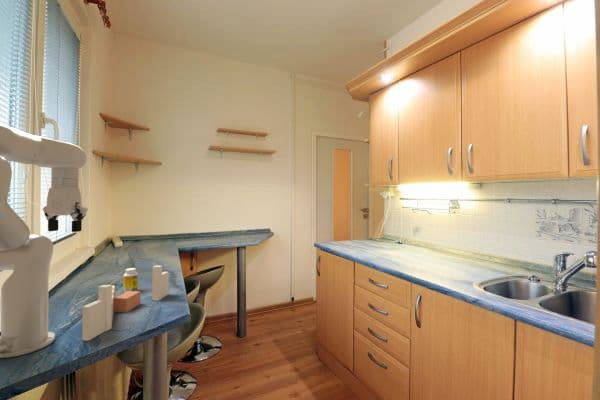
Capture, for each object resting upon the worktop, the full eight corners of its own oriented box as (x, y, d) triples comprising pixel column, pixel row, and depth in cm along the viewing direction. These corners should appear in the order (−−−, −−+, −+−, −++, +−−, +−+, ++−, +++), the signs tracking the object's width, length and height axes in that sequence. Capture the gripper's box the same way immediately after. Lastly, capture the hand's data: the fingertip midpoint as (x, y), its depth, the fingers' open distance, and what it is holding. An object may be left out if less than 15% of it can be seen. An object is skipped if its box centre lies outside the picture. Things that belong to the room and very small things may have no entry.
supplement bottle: (133, 293, 122) (133, 270, 122) (120, 293, 121) (120, 270, 121) (140, 289, 127) (140, 267, 127) (127, 289, 127) (127, 267, 127)
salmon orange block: (126, 312, 102) (126, 298, 102) (113, 311, 103) (113, 298, 103) (140, 303, 110) (140, 291, 110) (128, 303, 111) (128, 291, 111)
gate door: (111, 325, 90) (112, 304, 90) (107, 326, 90) (107, 305, 90) (114, 302, 110) (114, 285, 110) (111, 303, 110) (111, 285, 110)
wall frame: (89, 340, 81) (90, 293, 81) (80, 340, 82) (81, 293, 82) (169, 294, 121) (169, 262, 121) (163, 294, 121) (163, 262, 121)
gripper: (33, 183, 97) (32, 231, 97) (76, 183, 94) (76, 233, 94) (55, 184, 104) (54, 229, 104) (95, 184, 102) (95, 230, 102)
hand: (64, 231), depth 99 cm, fingers open, 9 cm apart
